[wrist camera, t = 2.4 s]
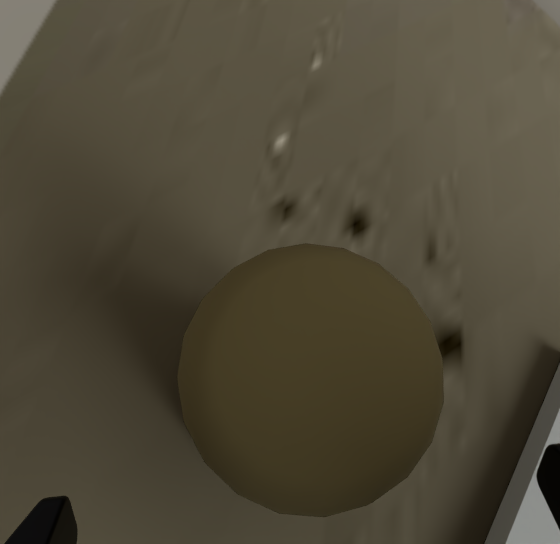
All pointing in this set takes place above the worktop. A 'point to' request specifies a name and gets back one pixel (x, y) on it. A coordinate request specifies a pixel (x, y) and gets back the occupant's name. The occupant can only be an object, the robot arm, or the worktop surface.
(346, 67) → the worktop surface
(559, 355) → the worktop surface
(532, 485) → the arbor press
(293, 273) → the cork
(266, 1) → the worktop surface
